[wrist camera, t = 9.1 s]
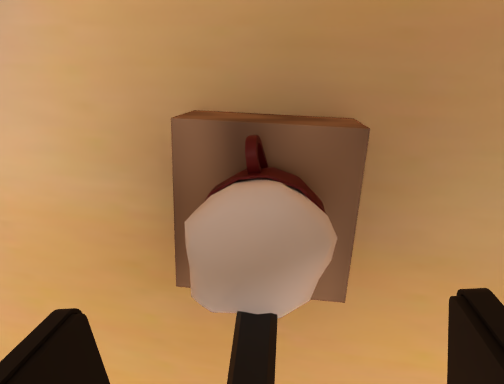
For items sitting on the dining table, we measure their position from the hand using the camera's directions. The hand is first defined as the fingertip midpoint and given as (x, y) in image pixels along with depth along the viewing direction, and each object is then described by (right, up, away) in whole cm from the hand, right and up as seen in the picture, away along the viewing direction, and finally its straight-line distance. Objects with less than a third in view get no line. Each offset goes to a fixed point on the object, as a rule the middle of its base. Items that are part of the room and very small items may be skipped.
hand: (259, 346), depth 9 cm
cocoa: (+1, +3, +10) cm, 11 cm away
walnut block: (+1, +4, +15) cm, 15 cm away
